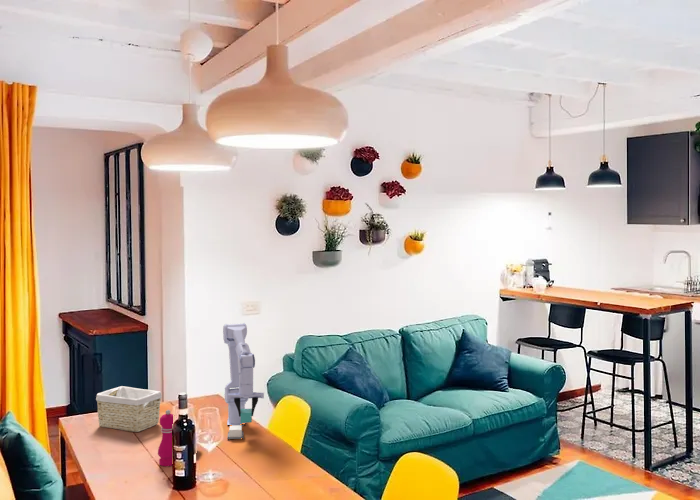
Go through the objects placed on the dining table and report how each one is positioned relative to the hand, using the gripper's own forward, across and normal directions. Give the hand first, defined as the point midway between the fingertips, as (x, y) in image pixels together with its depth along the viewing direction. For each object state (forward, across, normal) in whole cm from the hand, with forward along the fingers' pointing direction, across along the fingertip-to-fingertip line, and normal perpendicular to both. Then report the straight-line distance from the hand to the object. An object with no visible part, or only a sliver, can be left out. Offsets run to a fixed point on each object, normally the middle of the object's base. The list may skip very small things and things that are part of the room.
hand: (246, 415), depth 274 cm
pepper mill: (+9, -29, -27) cm, 40 cm away
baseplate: (+9, -4, 0) cm, 10 cm away
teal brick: (+2, 0, 0) cm, 2 cm away
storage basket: (+9, -50, +22) cm, 56 cm away
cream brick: (+9, -4, 0) cm, 10 cm away
